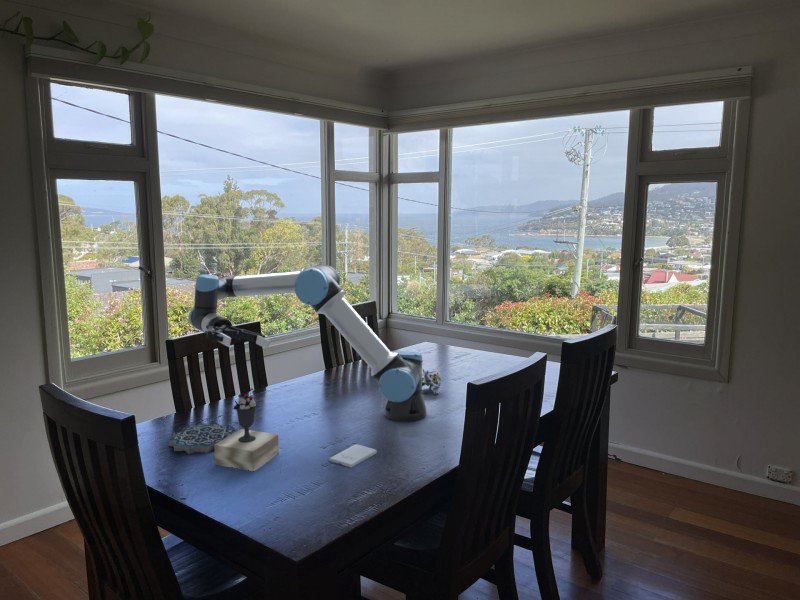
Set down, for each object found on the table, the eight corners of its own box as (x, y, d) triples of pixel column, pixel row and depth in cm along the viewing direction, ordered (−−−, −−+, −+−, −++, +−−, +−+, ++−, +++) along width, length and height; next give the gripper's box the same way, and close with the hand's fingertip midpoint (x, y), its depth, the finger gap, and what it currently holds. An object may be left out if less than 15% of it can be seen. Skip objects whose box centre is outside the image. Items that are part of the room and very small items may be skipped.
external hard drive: (376, 454, 175) (351, 469, 165) (355, 448, 179) (329, 462, 169) (376, 449, 175) (351, 464, 164) (355, 443, 179) (328, 457, 169)
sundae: (263, 436, 171) (261, 387, 169) (250, 445, 165) (248, 394, 163) (244, 433, 173) (242, 385, 171) (230, 441, 167) (228, 391, 165)
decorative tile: (232, 452, 175) (232, 444, 175) (163, 456, 172) (163, 449, 172) (239, 428, 195) (239, 421, 194) (177, 431, 191) (176, 424, 191)
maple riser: (278, 453, 174) (278, 434, 173) (254, 471, 162) (253, 451, 161) (241, 447, 178) (241, 428, 177) (215, 464, 166) (214, 444, 165)
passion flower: (435, 407, 232) (438, 389, 224) (409, 400, 234) (411, 382, 226) (442, 385, 240) (444, 367, 232) (416, 379, 242) (418, 361, 233)
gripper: (248, 340, 203) (280, 356, 188) (179, 335, 185) (209, 353, 171) (252, 319, 203) (285, 334, 188) (184, 312, 185) (214, 328, 170)
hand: (249, 343), depth 179 cm, fingers open, 13 cm apart
